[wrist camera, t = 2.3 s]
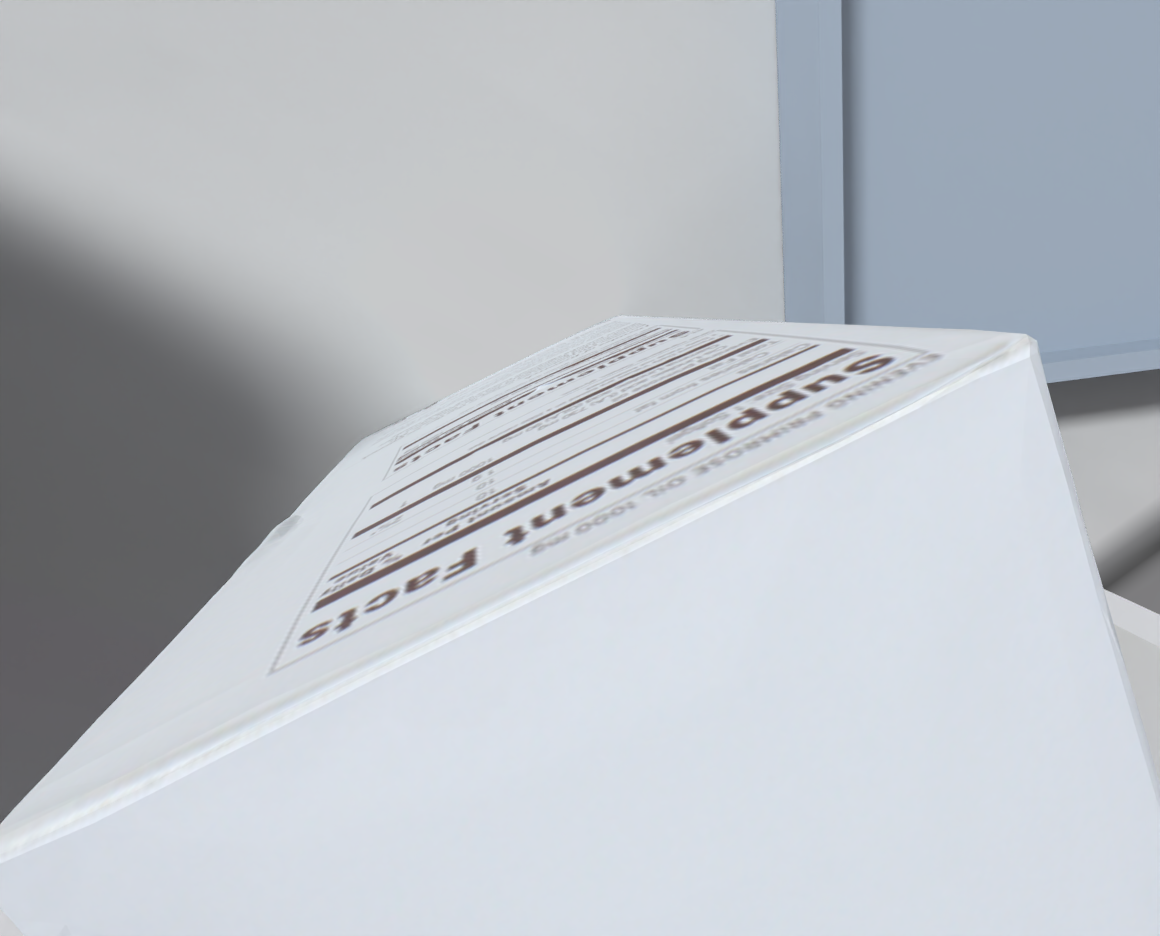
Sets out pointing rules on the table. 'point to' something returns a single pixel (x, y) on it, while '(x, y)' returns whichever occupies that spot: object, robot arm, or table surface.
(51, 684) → the table surface
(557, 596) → the supplement box
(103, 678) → the table surface
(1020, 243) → the blue-grey tray
